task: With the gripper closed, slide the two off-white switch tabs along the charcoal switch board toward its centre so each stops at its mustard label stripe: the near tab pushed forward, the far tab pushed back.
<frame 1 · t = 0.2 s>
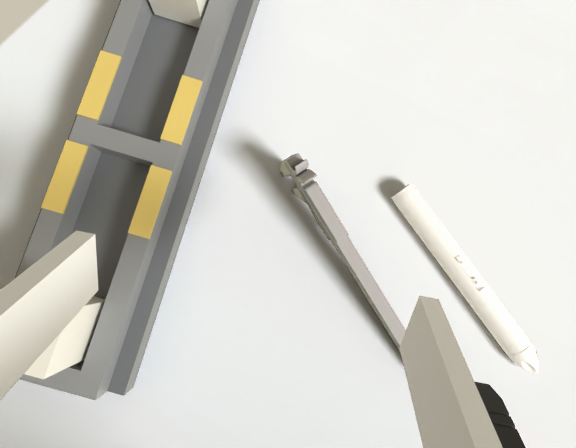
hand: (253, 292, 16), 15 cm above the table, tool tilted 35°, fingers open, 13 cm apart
switch board: (142, 159, 32), on the table
marker: (460, 279, 33), on the table
caliper: (352, 272, 32), on the table
tab a: (50, 326, 25), point 5 cm above the table, slide at 0.0 cm
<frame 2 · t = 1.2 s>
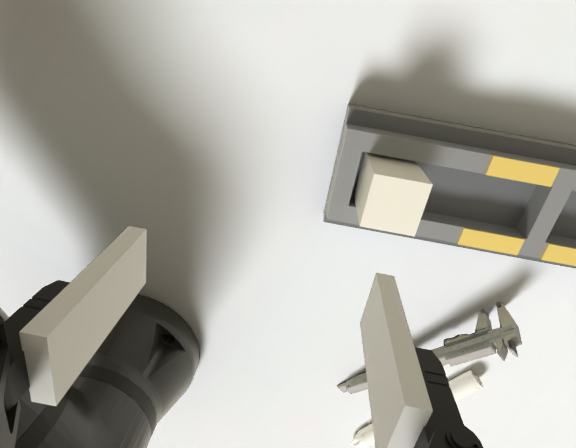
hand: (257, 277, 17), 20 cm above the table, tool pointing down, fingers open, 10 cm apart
switch board: (525, 196, 34), on the table
marker: (407, 405, 47), on the table
caliper: (413, 346, 43), on the table
tab a: (388, 190, 30), point 5 cm above the table, slide at 0.0 cm
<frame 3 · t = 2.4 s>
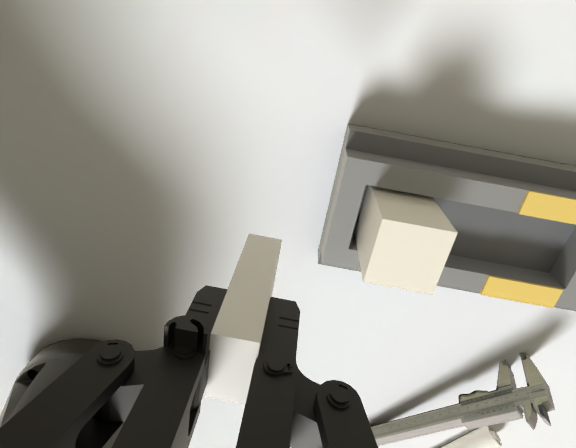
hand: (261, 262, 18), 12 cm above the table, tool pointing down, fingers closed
switch board: (559, 234, 29), on the table
caliper: (422, 398, 37), on the table
tab a: (398, 233, 24), point 5 cm above the table, slide at 0.0 cm
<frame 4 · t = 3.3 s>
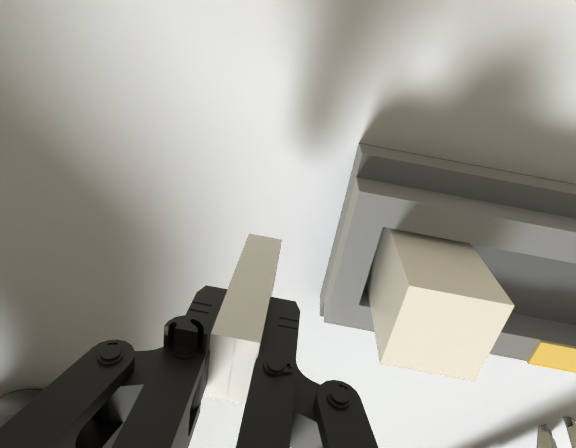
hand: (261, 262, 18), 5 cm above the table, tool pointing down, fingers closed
tab a: (425, 291, 18), point 5 cm above the table, slide at 0.0 cm
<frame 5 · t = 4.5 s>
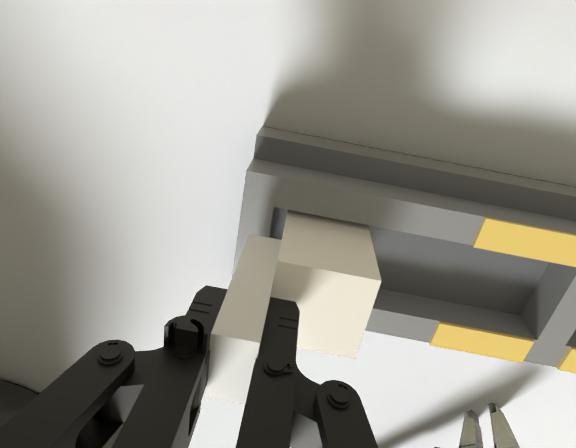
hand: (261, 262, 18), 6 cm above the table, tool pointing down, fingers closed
switch board: (533, 265, 23), on the table
tab a: (319, 272, 18), point 5 cm above the table, slide at 0.2 cm, touching gripper
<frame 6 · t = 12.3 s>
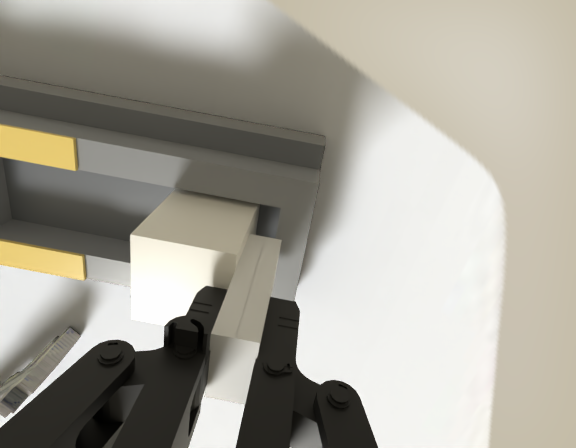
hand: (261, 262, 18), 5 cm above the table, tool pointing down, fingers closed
switch board: (18, 166, 23), on the table
tab b: (202, 250, 18), point 5 cm above the table, slide at 0.6 cm, touching gripper
caliper: (6, 382, 32), on the table
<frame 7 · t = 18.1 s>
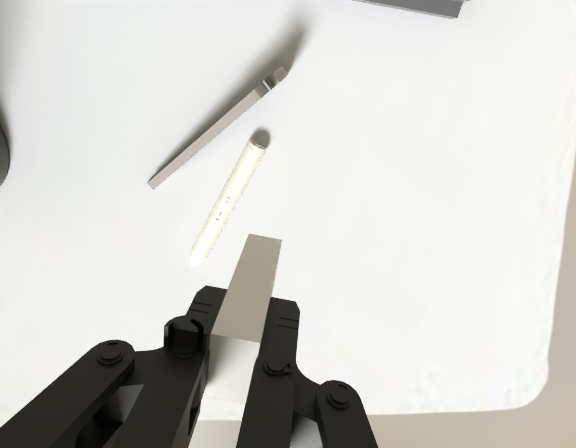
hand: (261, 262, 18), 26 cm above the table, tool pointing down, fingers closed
marker: (224, 206, 47), on the table
caliper: (214, 131, 43), on the table
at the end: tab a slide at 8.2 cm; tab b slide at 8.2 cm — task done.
